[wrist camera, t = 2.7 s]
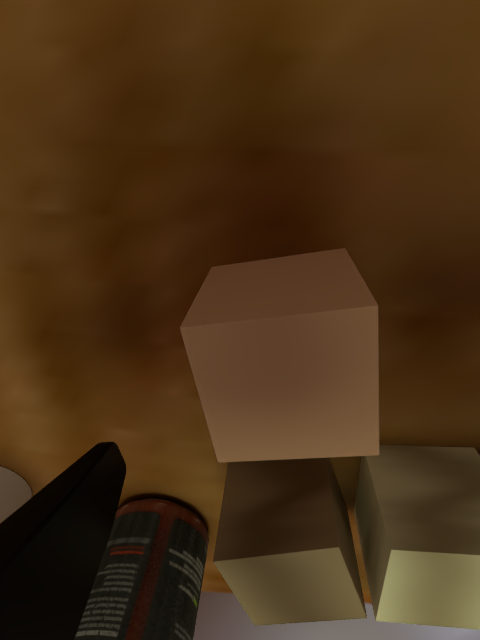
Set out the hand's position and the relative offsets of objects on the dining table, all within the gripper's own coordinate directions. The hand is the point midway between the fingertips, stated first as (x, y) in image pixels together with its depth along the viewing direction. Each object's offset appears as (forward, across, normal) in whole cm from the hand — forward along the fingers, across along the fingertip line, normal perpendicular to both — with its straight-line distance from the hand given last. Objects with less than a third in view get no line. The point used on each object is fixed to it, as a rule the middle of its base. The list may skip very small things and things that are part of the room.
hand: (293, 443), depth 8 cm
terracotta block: (+7, 0, 0) cm, 7 cm away
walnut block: (+7, +1, +10) cm, 12 cm away
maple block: (+7, -5, +10) cm, 13 cm away
